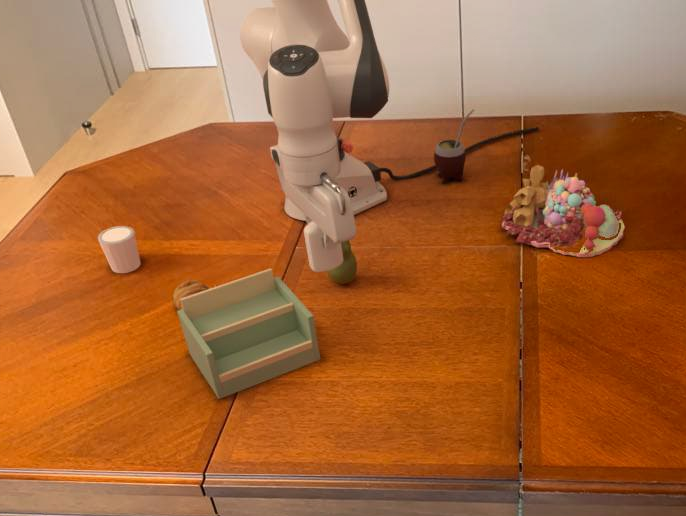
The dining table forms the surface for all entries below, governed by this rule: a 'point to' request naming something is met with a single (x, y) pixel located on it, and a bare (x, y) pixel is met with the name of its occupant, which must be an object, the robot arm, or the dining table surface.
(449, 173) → the mate gourd
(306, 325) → the spice rack
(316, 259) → the eye dropper bottle
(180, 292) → the pastry
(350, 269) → the pear
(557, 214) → the pastel sphere sculpture
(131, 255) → the white short cylinder
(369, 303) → the dining table surface
